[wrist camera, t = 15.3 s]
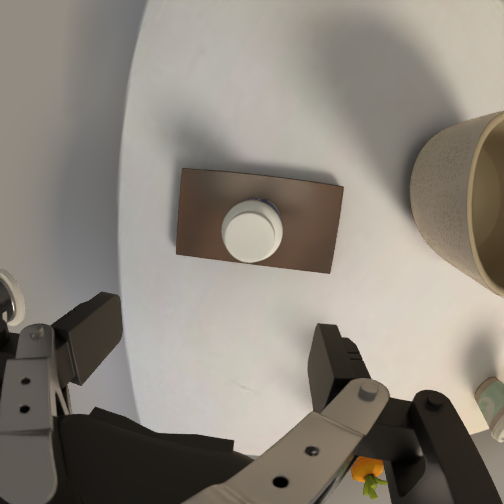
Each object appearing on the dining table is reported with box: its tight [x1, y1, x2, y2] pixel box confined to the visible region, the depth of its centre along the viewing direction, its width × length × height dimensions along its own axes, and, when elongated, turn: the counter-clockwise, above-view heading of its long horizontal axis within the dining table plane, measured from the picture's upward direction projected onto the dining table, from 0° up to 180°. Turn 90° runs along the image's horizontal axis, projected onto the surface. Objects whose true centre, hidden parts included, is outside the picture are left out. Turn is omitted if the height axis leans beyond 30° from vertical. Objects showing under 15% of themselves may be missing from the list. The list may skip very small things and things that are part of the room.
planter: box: [410, 111, 504, 297], centre depth 24 cm, size 17×17×15 cm
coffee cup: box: [475, 377, 504, 442], centre depth 32 cm, size 8×8×12 cm
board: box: [176, 168, 344, 274], centre depth 33 cm, size 18×10×2 cm, turn 84°
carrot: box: [351, 456, 388, 499], centre depth 33 cm, size 5×5×15 cm
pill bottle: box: [221, 197, 283, 263], centre depth 28 cm, size 5×5×10 cm
